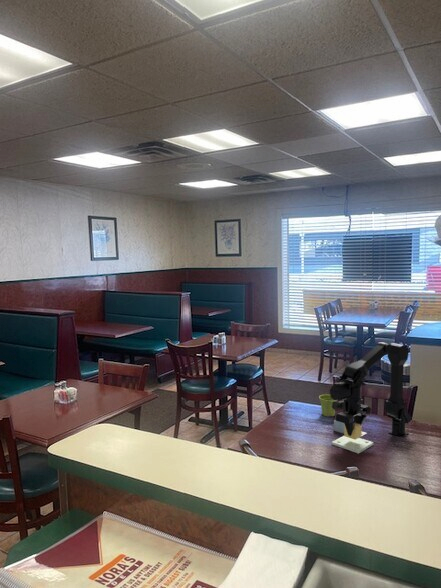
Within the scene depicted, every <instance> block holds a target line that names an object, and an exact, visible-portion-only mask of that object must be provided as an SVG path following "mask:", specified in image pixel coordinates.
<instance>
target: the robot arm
mask: <svg viewBox="0 0 441 588" xmlns="http://www.w3.org/2000/svg"><path fill="white" fill-rule="evenodd" d="M409 352H410V351H409V348H408V346H407V345H405V344H399V343H395V342H391V343H387V342H383V341H380V342H377V344H376V346H375V347H373V348H372V349H371V350H370V351H369V352H367V353H366V354H365V355H364V356H363V357H362V358H361V359H359V360H358V361H353V362H351V363H349V364H347V366H346V367H345V368H344V371H343V372H342V374H341V375H340V378H339V380H338V382H333V385H332V386H331V387H330V389H329V395H330V396H331V398H332V399H333V400H338V401H334V402H333V403H332V408H333V409H334V410H335V412H337V411H340V412H339V413H337V414H336V413H335V416H334V420H336V421H339V422H342V423H344V424H345V427H346V430H347V433H348V435H349V436H351V435H352V432H353V429H354V426H355V423H357V424H360V425H362V426H363V423H364V421H365V420H366V418H367V417H368V415H370V414H371V412H372V408H371V407H370V406H369V405H365V404H362V403H364V399H363V398H362V387H363V386H364V387H365V386H366V385H367V384H366V383H365V382H364V379H365V378H366V377H367V376H368V372H369V370H370V369H371V368H372V367H373V366H374V365H376V363H377V362H379V360H380V359H382V358H383V357H384V356H385V355H387V359H388V360H389V363H390V388H389V389H390V391H389V392H390V393H389V397H388V398H387V400H384V407H383V408H384V410H385V413H386V416H387V418H389V419H391V429H390V430H389V431H388V434H391V435H394V436H397V437H401V438H404V437H405V436H407V435H408V434H409V431H406V429H407V424H409V423H411V421H412V419H413V418H412V416H411V414H409V412H408V411H407V409H408V408H407V404H406V402H405V400H404V398H403V397H404V396H403V393H404V366H405V363H406V362H407V361H408V358H409ZM364 412H365V413H364Z"/></svg>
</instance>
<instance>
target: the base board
mask: <svg viewBox="0 0 441 588" xmlns="http://www.w3.org/2000/svg"><path fill="white" fill-rule="evenodd" d="M331 445H333V446H335V447H339V448H341V449H344V450H348V451H350V452H353V453H356V454H358V455H359V454H360V453H362V452H364V451H365V450H367V449H368V448H370V447H372V446H374V442H373V441H371V440H367V439H364V438H362V437H359V438H357V439H356V440H355V439H352V438H348V437H345V436H344V435H343V436H341V437H339V438H337V439H335V440H332V441H331Z"/></svg>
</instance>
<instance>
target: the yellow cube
mask: <svg viewBox="0 0 441 588" xmlns="http://www.w3.org/2000/svg"><path fill="white" fill-rule="evenodd" d="M362 426H363V424H362V425H360V424H357V423H355V426H354V429H353V432H352V435H351V436H349V435H348V433H347V430H346V427H345V425H344V435H343V436H345V437H348V438H352V439H355V440H356V439H357V438H362V437H361V435H362V432H363V431H362V429H363V427H362Z"/></svg>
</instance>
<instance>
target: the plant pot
mask: <svg viewBox="0 0 441 588" xmlns="http://www.w3.org/2000/svg"><path fill="white" fill-rule="evenodd" d="M318 398H319V402H320V408H321V415H323V416H324V417H328V418H329V417H335V415H336V411H335V410H334V409H333V408H332V403H333V402H334V401H339V400H333V399H332V398H331V396H330V394H320V395H318Z"/></svg>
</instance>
